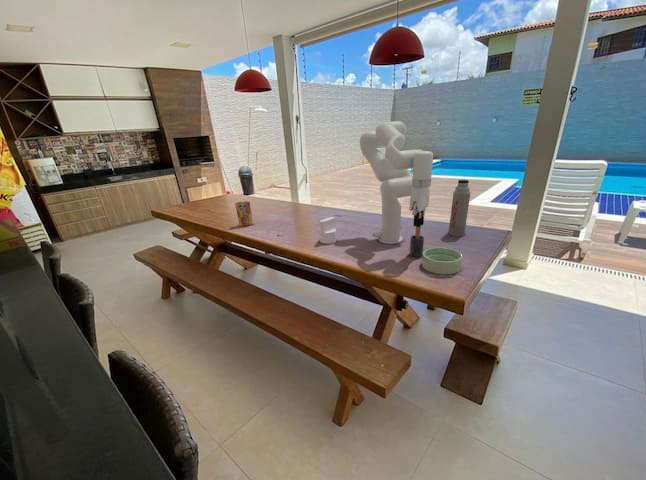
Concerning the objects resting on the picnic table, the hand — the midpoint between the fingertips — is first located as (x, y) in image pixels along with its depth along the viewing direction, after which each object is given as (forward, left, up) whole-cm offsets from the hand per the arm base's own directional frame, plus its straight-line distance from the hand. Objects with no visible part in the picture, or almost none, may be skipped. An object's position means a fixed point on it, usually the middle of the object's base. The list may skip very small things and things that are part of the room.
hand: (418, 225), depth 135 cm
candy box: (-103, +48, -15) cm, 115 cm away
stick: (0, 0, -13) cm, 13 cm away
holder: (0, 0, -15) cm, 15 cm away
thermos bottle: (+24, +30, -15) cm, 41 cm away
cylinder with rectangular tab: (-44, +19, -15) cm, 50 cm away
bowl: (+9, -12, -15) cm, 21 cm away
